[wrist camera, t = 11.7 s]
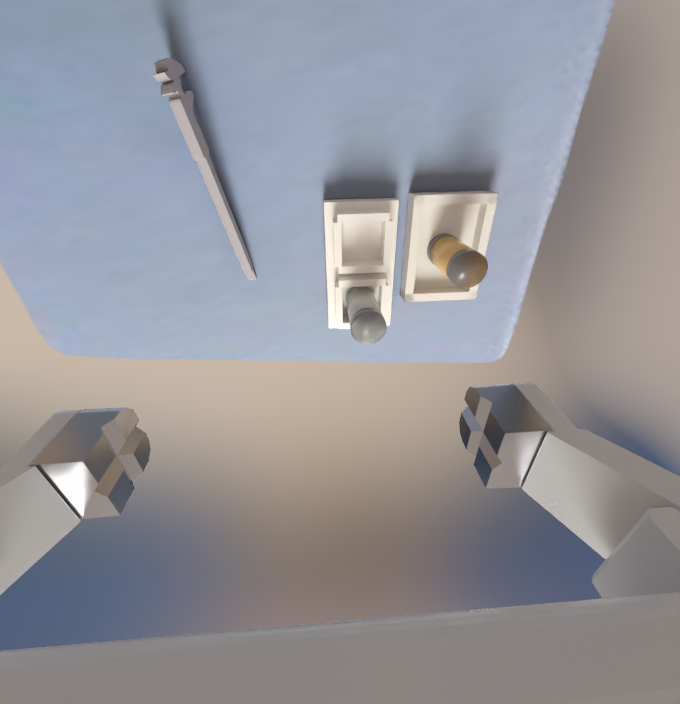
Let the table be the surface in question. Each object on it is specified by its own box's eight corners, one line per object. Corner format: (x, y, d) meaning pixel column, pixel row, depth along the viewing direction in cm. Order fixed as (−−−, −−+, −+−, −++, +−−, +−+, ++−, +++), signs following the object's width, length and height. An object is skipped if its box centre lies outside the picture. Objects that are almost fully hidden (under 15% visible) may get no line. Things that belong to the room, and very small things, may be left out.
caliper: (173, 68, 30) (141, 51, 24) (184, 65, 30) (155, 47, 24) (249, 279, 40) (239, 299, 35) (258, 277, 40) (249, 297, 35)
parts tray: (408, 192, 36) (414, 195, 34) (488, 190, 36) (498, 193, 34) (400, 294, 42) (404, 301, 40) (467, 291, 43) (475, 299, 41)
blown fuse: (429, 233, 38) (453, 252, 31) (460, 232, 38) (491, 251, 31) (425, 265, 40) (447, 289, 33) (454, 264, 40) (483, 288, 33)
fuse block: (323, 199, 36) (325, 215, 27) (395, 197, 36) (419, 213, 28) (328, 321, 44) (331, 362, 35) (387, 318, 44) (403, 359, 36)
